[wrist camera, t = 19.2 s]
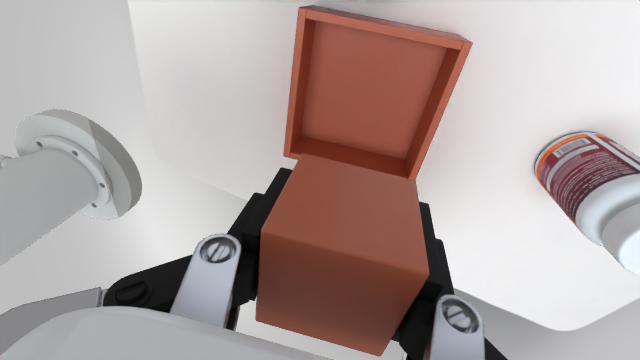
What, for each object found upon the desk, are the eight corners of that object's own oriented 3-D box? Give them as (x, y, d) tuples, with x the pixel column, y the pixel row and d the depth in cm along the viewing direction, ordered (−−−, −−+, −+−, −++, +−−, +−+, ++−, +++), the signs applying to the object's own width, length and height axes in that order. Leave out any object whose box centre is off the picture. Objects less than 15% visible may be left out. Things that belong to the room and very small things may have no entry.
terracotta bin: (295, 136, 31) (283, 156, 27) (312, 5, 24) (298, 7, 20) (408, 163, 30) (411, 187, 26) (459, 34, 23) (473, 42, 19)
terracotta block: (290, 233, 14) (254, 321, 10) (302, 151, 11) (260, 229, 8) (382, 257, 13) (381, 358, 10) (416, 179, 11) (431, 274, 7)
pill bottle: (523, 185, 29) (589, 276, 20) (547, 127, 26) (640, 204, 16) (593, 190, 28) (698, 289, 19) (628, 131, 25) (777, 215, 15)
